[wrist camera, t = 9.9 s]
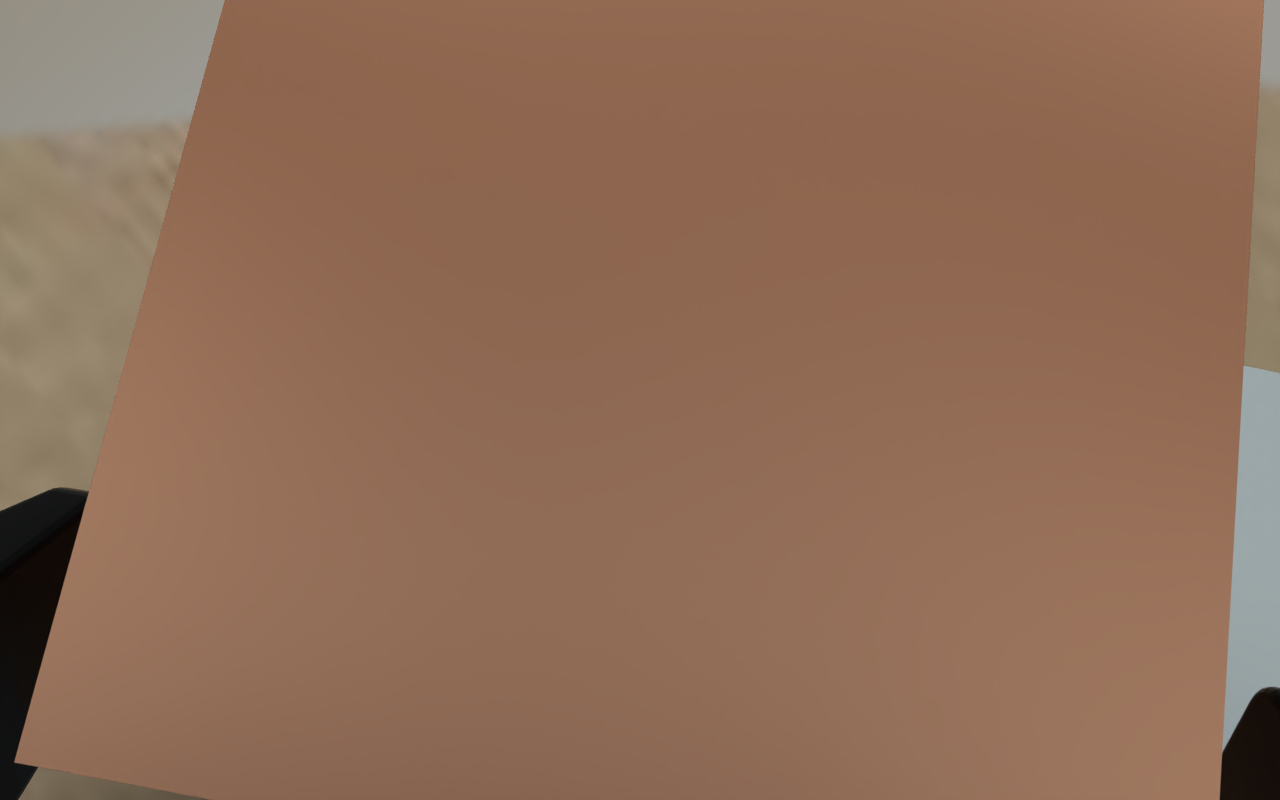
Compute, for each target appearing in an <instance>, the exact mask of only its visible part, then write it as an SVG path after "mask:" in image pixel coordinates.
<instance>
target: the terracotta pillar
mask: <svg viewBox="0 0 1280 800" xmlns="http://www.w3.org/2000/svg"><path fill="white" fill-rule="evenodd" d="M1263 8H1264V0H225V2H224V5H223V9H222V13H221V16H220V20H219V24H218V27H217V31H216V34H215V38H214V41H213V45H212V49H211V53H210V56H209V60H208V63H207V67H206V70H205V74H204V78H203V81H202V85H201V89H200V92H199V96H198V99H197V103H196V106H195V110H194V114H193V117H192V121H191V125H190V128H189V132H188V135H187V139H186V143H185V146H184V150H183V153H182V157H181V161H180V164H179V168H178V172H177V175H176V179H175V182H174V186H173V190H172V193H171V197H170V200H169V204H168V208H167V211H166V215H165V219H164V222H163V226H162V229H161V233H160V237H159V240H158V244H157V248H156V251H155V255H154V258H153V262H152V266H151V269H150V273H149V276H148V280H147V284H146V287H145V291H144V295H143V298H142V302H141V305H140V309H139V313H138V316H137V320H136V323H135V327H134V331H133V334H132V338H131V342H130V345H129V349H128V352H127V356H126V360H125V363H124V367H123V370H122V374H121V378H120V381H119V385H118V389H117V392H116V396H115V399H114V403H113V407H112V410H111V414H110V417H109V421H108V425H107V428H106V432H105V436H104V439H103V443H102V446H101V450H100V454H99V457H98V461H97V465H96V468H95V472H94V475H93V479H92V483H91V486H90V490H89V493H88V497H87V501H86V504H85V508H84V512H83V515H82V519H81V522H80V526H79V530H78V533H77V537H76V540H75V544H74V548H73V551H72V555H71V559H70V562H69V566H68V569H67V573H66V577H65V580H64V584H63V587H62V591H61V595H60V598H59V602H58V606H57V609H56V613H55V616H54V620H53V624H52V627H51V631H50V634H49V638H48V642H47V645H46V649H45V653H44V656H43V660H42V663H41V667H40V671H39V674H38V678H37V681H36V685H35V689H34V692H33V696H32V700H31V703H30V707H29V710H28V714H27V718H26V721H25V725H24V729H23V732H22V736H21V739H20V743H19V747H18V750H17V754H16V757H15V761H14V762H15V763H20V764H25V765H30V766H36V767H41V768H46V769H52V770H57V771H62V772H67V773H73V774H78V775H83V776H89V777H94V778H99V779H104V780H110V781H115V782H120V783H126V784H131V785H136V786H141V787H147V788H152V789H157V790H163V791H168V792H173V793H178V794H184V795H189V796H194V797H200V798H205V799H210V800H1220V783H1221V765H1222V747H1223V729H1224V711H1225V693H1226V675H1227V657H1228V639H1229V621H1230V603H1231V585H1232V567H1233V549H1234V531H1235V513H1236V495H1237V477H1238V459H1239V441H1240V423H1241V405H1242V387H1243V369H1244V351H1245V333H1246V315H1247V297H1248V279H1249V261H1250V243H1251V225H1252V207H1253V189H1254V171H1255V153H1256V135H1257V117H1258V99H1259V81H1260V63H1261V45H1262V27H1263Z"/></svg>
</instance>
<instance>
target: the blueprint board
mask: <svg viewBox="0 0 1280 800" xmlns="http://www.w3.org/2000/svg"><path fill="white" fill-rule="evenodd" d="M1265 687H1279V688H1280V373H1276V372H1271V371H1267V370H1262V369H1257V368H1253V367H1248V366H1244V369H1243V387H1242V405H1241V423H1240V441H1239V459H1238V477H1237V495H1236V513H1235V531H1234V549H1233V567H1232V585H1231V603H1230V621H1229V639H1228V657H1227V675H1226V693H1225V711H1224V729H1223V747H1222V752H1223V750H1224V748H1225V746H1226V744H1227V743H1228V741H1229V739H1230V737H1231V735H1232V733H1233V731H1234V730H1235V728H1236V726H1237V724H1238V722H1239V720H1240V719H1241V717H1242V715H1243V713H1244V711H1245V709H1246V707H1247V706H1248V704H1249V702H1250V700H1251V699H1252V697H1253V696H1254V694H1255V693H1256V692H1258V691H1259V690H1260V689H1262V688H1265Z"/></svg>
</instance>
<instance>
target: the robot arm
mask: <svg viewBox="0 0 1280 800" xmlns="http://www.w3.org/2000/svg"><path fill="white" fill-rule="evenodd" d="M88 493H89V491H84V490H78V489H72V488H54V489H51V490H48V491H46V492H43V493H41V494H39V495H37V496H34V497H32V498H30V499H27V500H25V501H23V502H20V503H18V504H16V505H14V506H11V507H9V508H7V509H4V510H2V511H0V800H18V799H19V797H20V796H21V794H22V793H23V791H24V789H25V788H26V786H27V785H28V783H29V781H30V780H31V778H32V776H33V775H34V773H35V771H36V770H37V768H38V767H36V766H30V765H25V764H20V763H15V762H14V761H15V757H16V754H17V750H18V747H19V743H20V739H21V736H22V732H23V729H24V725H25V721H26V718H27V714H28V710H29V707H30V703H31V700H32V696H33V692H34V689H35V685H36V681H37V678H38V674H39V671H40V667H41V663H42V660H43V656H44V653H45V649H46V645H47V642H48V638H49V634H50V631H51V627H52V624H53V620H54V616H55V613H56V609H57V606H58V602H59V598H60V595H61V591H62V587H63V584H64V580H65V577H66V573H67V569H68V566H69V562H70V559H71V555H72V551H73V548H74V544H75V540H76V537H77V533H78V530H79V526H80V522H81V519H82V515H83V512H84V508H85V504H86V501H87V497H88ZM1220 800H1280V688H1279V687H1265V688H1262V689H1260V690H1259V691H1258V692H1256V693H1255V694H1254V696H1253V697H1252V699H1251V700H1250V702H1249V704H1248V706H1247V707H1246V709H1245V711H1244V713H1243V715H1242V717H1241V719H1240V720H1239V722H1238V724H1237V726H1236V728H1235V730H1234V731H1233V733H1232V735H1231V737H1230V739H1229V741H1228V743H1227V744H1226V746H1225V748H1224V750H1223V752H1222V765H1221V783H1220Z"/></svg>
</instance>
